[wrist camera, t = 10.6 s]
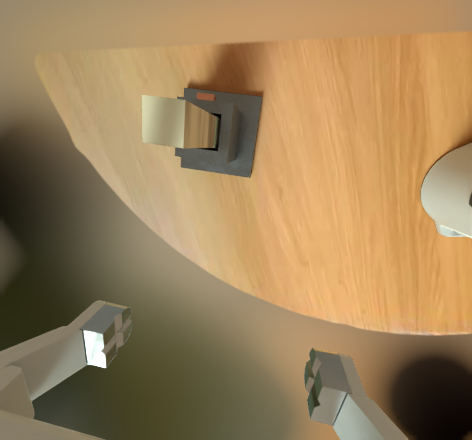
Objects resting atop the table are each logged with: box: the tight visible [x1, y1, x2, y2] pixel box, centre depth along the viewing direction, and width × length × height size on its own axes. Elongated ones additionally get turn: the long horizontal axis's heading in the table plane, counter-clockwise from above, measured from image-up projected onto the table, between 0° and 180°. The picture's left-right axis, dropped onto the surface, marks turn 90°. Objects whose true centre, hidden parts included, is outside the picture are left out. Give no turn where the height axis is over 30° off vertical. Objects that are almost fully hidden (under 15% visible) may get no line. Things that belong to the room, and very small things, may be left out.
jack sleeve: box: [175, 88, 262, 178], centre depth 37 cm, size 14×14×12 cm
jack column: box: [142, 95, 221, 148], centre depth 27 cm, size 4×4×16 cm
